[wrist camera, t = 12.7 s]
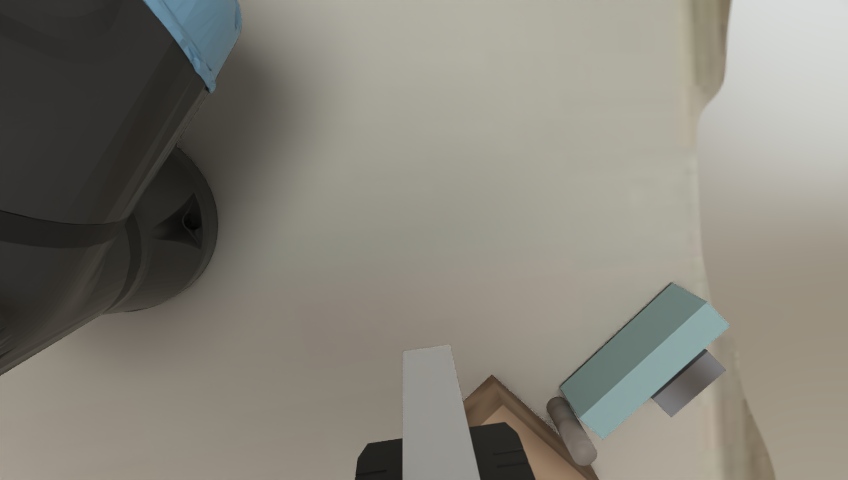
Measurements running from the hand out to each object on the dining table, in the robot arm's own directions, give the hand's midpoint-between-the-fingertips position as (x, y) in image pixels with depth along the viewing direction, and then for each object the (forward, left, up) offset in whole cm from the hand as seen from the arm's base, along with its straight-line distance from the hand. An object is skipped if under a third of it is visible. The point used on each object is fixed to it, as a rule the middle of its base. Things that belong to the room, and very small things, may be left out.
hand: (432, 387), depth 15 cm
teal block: (+6, -22, -26) cm, 35 cm away
